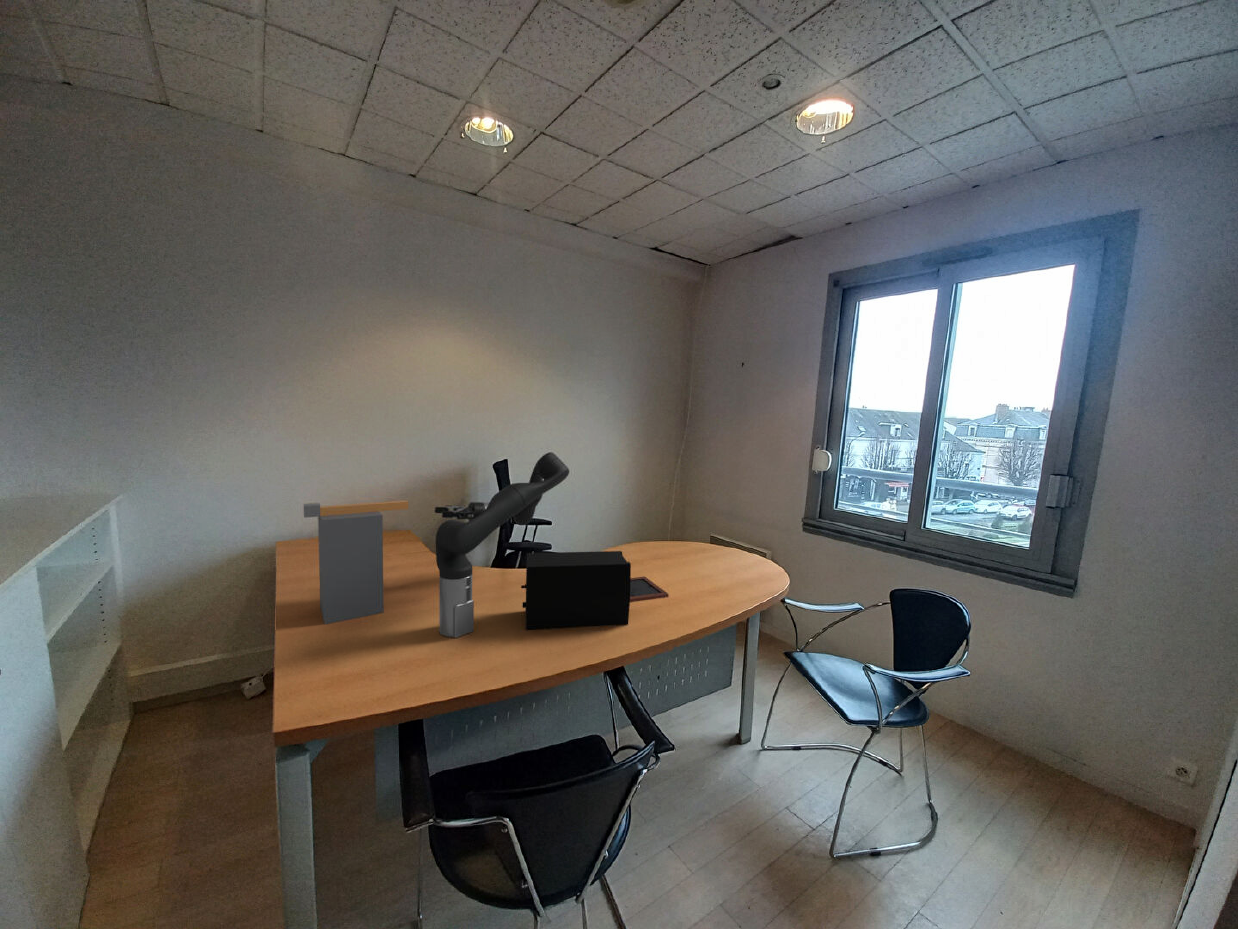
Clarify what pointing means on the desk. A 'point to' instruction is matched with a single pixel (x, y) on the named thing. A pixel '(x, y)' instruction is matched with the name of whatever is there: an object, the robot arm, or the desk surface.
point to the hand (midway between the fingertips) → (438, 512)
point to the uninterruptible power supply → (576, 590)
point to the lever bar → (352, 508)
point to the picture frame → (645, 590)
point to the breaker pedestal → (350, 565)
